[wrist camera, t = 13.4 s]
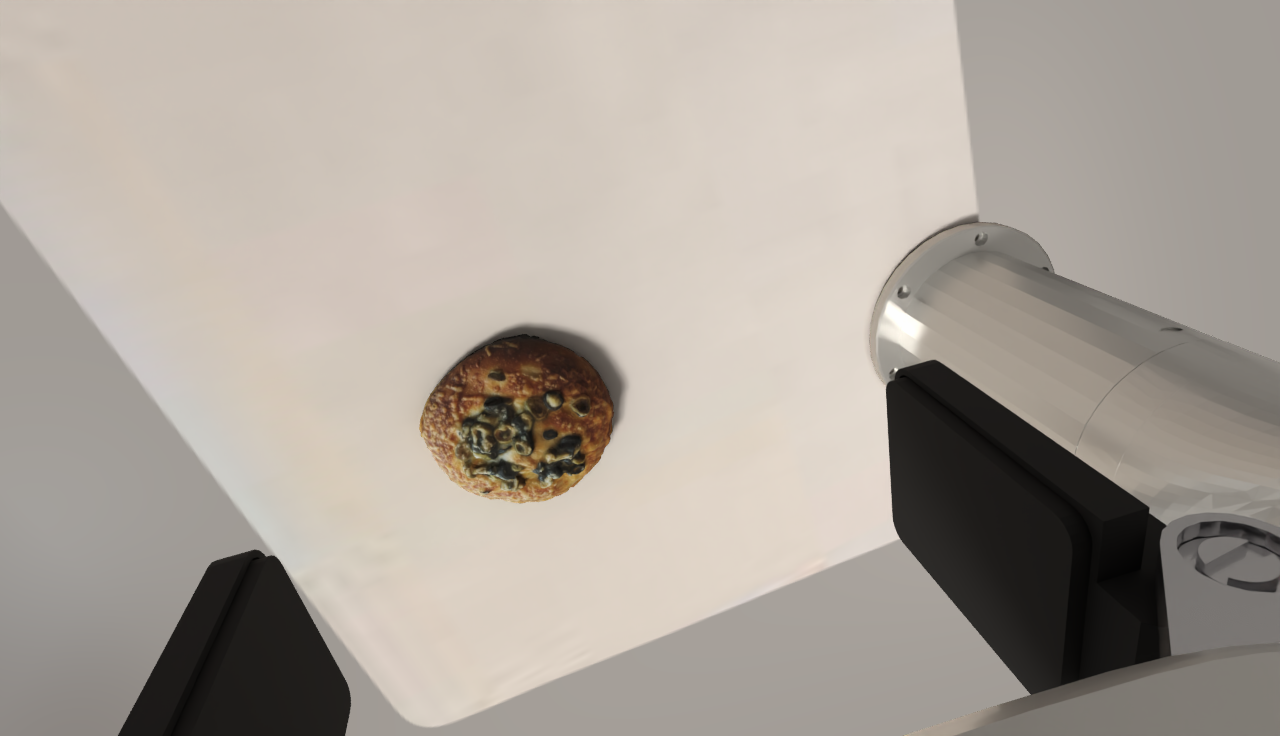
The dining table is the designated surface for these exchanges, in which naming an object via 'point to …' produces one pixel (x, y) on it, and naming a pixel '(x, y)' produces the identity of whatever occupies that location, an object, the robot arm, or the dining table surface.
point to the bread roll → (518, 420)
